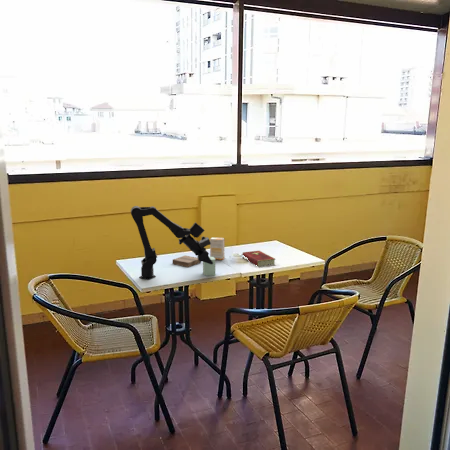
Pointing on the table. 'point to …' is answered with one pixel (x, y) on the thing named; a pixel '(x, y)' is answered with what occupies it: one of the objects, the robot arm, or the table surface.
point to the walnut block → (186, 261)
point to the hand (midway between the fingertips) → (211, 262)
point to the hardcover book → (259, 258)
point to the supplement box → (217, 248)
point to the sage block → (209, 267)
